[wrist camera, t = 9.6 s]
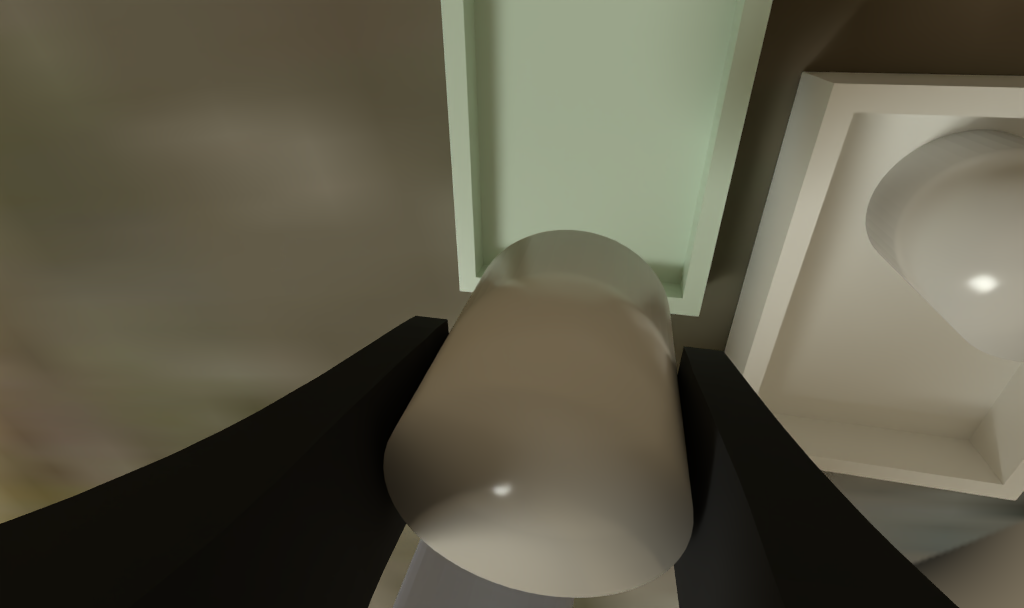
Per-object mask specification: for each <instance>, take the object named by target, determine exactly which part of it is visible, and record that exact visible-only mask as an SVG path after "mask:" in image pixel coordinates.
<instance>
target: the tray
mask: <svg viewBox="0 0 1024 608" xmlns="http://www.w3.org/2000/svg"><path fill="white" fill-rule="evenodd" d="M772 2H773V0H441V10H442V25H443V41H444V56H445V71H446V86H447V101H448V117H449V132H450V147H451V162H452V177H453V193H454V208H455V223H456V238H457V253H458V268H459V284H460V291H466V292H473V291H474V289H475V288H476V286H477V284H478V282H479V281H480V279H481V277H482V275H483V274H484V272H485V270H486V269H487V267H488V266H489V265H490V263H491V262H492V261H493V260H494V259H495V258H496V257H497V256H498V255H499V254H500V253H501V252H502V251H503V250H505V249H506V248H507V247H509V246H510V245H512V244H513V243H515V242H517V241H519V240H521V239H523V238H526V237H528V236H531V235H533V234H537V233H541V232H546V231H553V230H579V231H586V232H591V233H595V234H599V235H602V236H605V237H607V238H610V239H612V240H615V241H617V242H619V243H620V244H622V245H624V246H626V247H628V248H629V249H630V250H632V251H633V252H635V253H636V254H637V255H639V256H640V257H641V258H642V259H643V260H644V261H645V262H646V263H647V264H648V265H649V266H650V267H651V269H652V270H653V271H654V273H655V274H656V275H657V277H658V278H659V280H660V282H661V284H662V285H663V288H664V290H665V293H666V295H667V298H668V303H669V308H670V314H679V315H689V316H698V317H699V314H700V309H701V305H702V301H703V296H704V292H705V288H706V284H707V279H708V275H709V271H710V267H711V262H712V258H713V254H714V249H715V245H716V241H717V237H718V232H719V228H720V224H721V219H722V215H723V211H724V207H725V202H726V198H727V194H728V190H729V185H730V181H731V177H732V172H733V168H734V164H735V160H736V155H737V151H738V147H739V143H740V138H741V134H742V130H743V125H744V121H745V117H746V113H747V108H748V104H749V100H750V96H751V91H752V87H753V83H754V78H755V74H756V70H757V66H758V61H759V57H760V53H761V49H762V44H763V40H764V36H765V31H766V27H767V23H768V19H769V14H770V10H771V6H772Z"/></svg>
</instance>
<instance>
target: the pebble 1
mask: <svg viewBox="0 0 1024 608" xmlns="http://www.w3.org/2000/svg"><path fill="white" fill-rule="evenodd" d="M383 469H384V478H385V483H386V486H387V489H388V493H389V495H390V497H391V499H392V502H393V504H394V506H395V507H396V509H397V510H398V512H399V514H400V515H401V517H402V518H403V519H404V521H405V522H406V523H407V524H408V526H409V527H410V528H411V529H412V530H413V531H414V532H415V533H416V534H417V535H418V536H419V537H420V538H421V539H422V540H423V541H424V542H425V543H426V544H427V545H429V546H430V547H431V548H432V549H433V550H435V551H436V552H437V553H439V554H440V555H442V556H443V557H445V558H446V559H447V560H449V561H451V562H452V563H454V564H456V565H458V566H459V567H461V568H463V569H465V570H467V571H469V572H471V573H473V574H475V575H477V576H479V577H482V578H484V579H486V580H489V581H491V582H494V583H497V584H500V585H503V586H506V587H509V588H512V589H516V590H520V591H524V592H529V593H534V594H540V595H546V596H555V597H571V598H584V597H599V596H606V595H613V594H617V593H621V592H625V591H629V590H632V589H635V588H637V587H640V586H643V585H645V584H647V583H649V582H651V581H653V580H655V579H656V578H658V577H659V576H661V575H662V574H664V573H665V572H666V571H668V570H669V569H670V568H671V567H672V566H673V565H674V564H675V563H676V562H677V561H678V560H679V558H680V557H681V555H682V554H683V553H684V551H685V550H686V547H687V545H688V543H689V540H690V538H691V534H692V529H693V523H694V522H693V504H692V495H691V487H690V478H689V469H688V461H687V452H686V444H685V435H684V426H683V418H682V409H681V401H680V392H679V384H678V375H677V366H676V358H675V349H674V341H673V332H672V323H671V315H670V308H669V303H668V298H667V295H666V293H665V290H664V288H663V285H662V284H661V282H660V280H659V278H658V277H657V275H656V274H655V273H654V271H653V270H652V269H651V267H650V266H649V265H648V264H647V263H646V262H645V261H644V260H643V259H642V258H641V257H640V256H639V255H637V254H636V253H635V252H633V251H632V250H630V249H629V248H628V247H626V246H624V245H622V244H620V243H619V242H617V241H615V240H612V239H610V238H607V237H605V236H602V235H599V234H595V233H591V232H586V231H579V230H553V231H546V232H541V233H537V234H533V235H531V236H528V237H526V238H523V239H521V240H519V241H517V242H515V243H513V244H512V245H510V246H509V247H507V248H506V249H505V250H503V251H502V252H501V253H500V254H499V255H498V256H497V257H496V258H495V259H494V260H493V261H492V262H491V263H490V265H489V266H488V267H487V269H486V270H485V272H484V274H483V275H482V277H481V279H480V281H479V282H478V284H477V286H476V288H475V289H474V291H473V293H472V295H471V296H470V298H469V300H468V302H467V303H466V305H465V307H464V309H463V310H462V312H461V314H460V316H459V317H458V319H457V321H456V323H455V324H454V326H453V328H452V330H451V331H450V333H449V335H448V336H447V338H446V340H445V342H444V343H443V345H442V347H441V349H440V350H439V352H438V354H437V356H436V357H435V359H434V361H433V363H432V364H431V366H430V368H429V370H428V371H427V373H426V375H425V377H424V378H423V380H422V382H421V384H420V385H419V387H418V389H417V391H416V392H415V394H414V396H413V397H412V399H411V401H410V403H409V404H408V406H407V408H406V410H405V411H404V413H403V415H402V417H401V418H400V420H399V422H398V424H397V425H396V427H395V429H394V431H393V433H392V435H391V437H390V438H389V440H388V442H387V446H386V450H385V453H384V464H383Z"/></svg>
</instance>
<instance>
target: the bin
mask: <svg viewBox="0 0 1024 608" xmlns="http://www.w3.org/2000/svg"><path fill="white" fill-rule="evenodd" d="M977 129H990V130H998V131H1003V132H1007V133H1011V134H1014V135H1017V136H1020V137H1023V138H1024V76H1004V75H952V74H901V73H849V72H802V74H801V78H800V82H799V85H798V89H797V92H796V96H795V100H794V103H793V107H792V110H791V114H790V118H789V121H788V125H787V128H786V132H785V135H784V139H783V143H782V146H781V150H780V153H779V157H778V161H777V164H776V168H775V171H774V175H773V179H772V182H771V186H770V189H769V193H768V197H767V200H766V204H765V207H764V211H763V214H762V218H761V222H760V225H759V229H758V232H757V236H756V240H755V243H754V247H753V250H752V254H751V258H750V261H749V265H748V268H747V272H746V276H745V279H744V283H743V286H742V290H741V293H740V297H739V301H738V304H737V308H736V311H735V315H734V319H733V322H732V326H731V329H730V333H729V337H728V340H727V344H726V347H725V351H724V353H725V354H726V355H727V356H728V358H729V359H730V360H731V361H732V363H733V364H734V365H735V366H736V368H737V369H738V370H739V372H740V373H741V374H742V375H743V377H744V378H745V379H746V381H747V382H748V383H749V384H750V386H751V387H752V388H753V390H754V391H755V392H756V393H757V395H758V396H759V397H760V398H761V400H762V401H763V402H764V404H765V405H766V406H767V407H768V409H769V410H770V411H771V412H772V414H773V415H774V416H775V417H776V419H777V420H778V421H779V422H780V423H781V425H782V426H783V427H784V428H785V429H786V431H787V432H788V433H789V434H790V435H791V437H792V438H793V439H794V440H795V441H796V442H797V444H798V445H799V446H800V447H801V448H802V449H803V451H804V452H805V453H806V454H807V455H808V457H809V458H810V459H811V460H812V461H813V462H814V463H815V465H816V466H817V467H818V468H819V469H820V470H823V471H829V472H835V473H842V474H848V475H855V476H861V477H867V478H874V479H880V480H887V481H893V482H899V483H906V484H912V485H919V486H925V487H931V488H938V489H944V490H951V491H957V492H964V493H970V494H976V495H983V496H989V497H996V498H1002V499H1008V500H1015V501H1016V499H1017V498H1018V497H1019V496H1020V495H1021V493H1022V492H1023V491H1024V362H1016V361H1011V360H1006V359H1001V358H998V357H995V356H991V355H989V354H987V353H984V352H982V351H980V350H978V349H977V348H975V347H974V346H972V345H970V344H969V343H968V342H967V341H966V340H965V339H964V338H963V337H962V336H961V335H960V334H959V333H958V332H957V331H956V330H955V329H954V328H953V327H952V326H951V325H950V324H949V323H948V322H947V321H946V320H945V319H944V318H943V317H942V316H941V315H940V314H939V313H938V312H937V311H936V310H935V309H934V308H933V307H932V306H931V305H930V304H929V303H928V302H927V301H926V300H925V299H924V298H923V297H922V296H921V295H920V294H919V293H918V292H917V291H916V290H915V289H914V288H913V287H912V286H911V285H910V284H909V283H908V282H907V281H906V280H905V279H904V278H903V277H902V276H901V275H900V274H899V273H898V272H897V271H896V270H895V269H894V268H893V267H892V266H891V265H890V264H889V263H888V262H887V261H886V260H885V259H884V258H883V257H882V256H881V255H880V254H879V253H878V252H877V251H876V250H875V249H874V247H873V246H872V244H871V242H870V241H869V238H868V235H867V232H866V225H865V222H866V212H867V207H868V204H869V201H870V198H871V196H872V194H873V192H874V190H875V188H876V187H877V185H878V184H879V182H880V181H881V180H882V178H883V177H884V176H885V175H886V174H887V172H888V171H889V170H890V169H891V168H892V167H893V166H894V165H895V164H897V163H898V162H899V161H900V160H901V159H903V158H904V157H905V156H906V155H908V154H909V153H911V152H913V151H914V150H916V149H917V148H919V147H921V146H923V145H925V144H926V143H928V142H931V141H933V140H935V139H938V138H940V137H943V136H946V135H950V134H953V133H957V132H962V131H968V130H977Z"/></svg>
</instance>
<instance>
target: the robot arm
mask: <svg viewBox="0 0 1024 608" xmlns="http://www.w3.org/2000/svg"><path fill="white" fill-rule="evenodd" d="M448 335H449V332H448V320H447V319H439V318H430V317H421V316H415V317H413V318H411V319H409V320H407V321H406V322H404V323H402V324H401V325H399V326H397V327H396V328H394V329H393V330H391V331H389V332H388V333H386V334H385V335H383V336H382V337H380V338H379V339H377V340H376V341H374V342H372V343H371V344H369V345H368V346H366V347H365V348H363V349H362V350H360V351H358V352H357V353H355V354H354V355H352V356H351V357H349V358H347V359H346V360H344V361H343V362H341V363H339V364H338V365H336V366H335V367H333V368H332V369H330V370H328V371H327V372H325V373H324V374H322V375H320V376H319V377H317V378H315V379H314V380H312V381H310V382H308V383H307V384H305V385H303V386H302V387H300V388H298V389H296V390H295V391H293V392H291V393H289V394H288V395H286V396H284V397H283V398H281V399H279V400H277V401H276V402H274V403H272V404H270V405H269V406H267V407H265V408H264V409H262V410H260V411H258V412H256V413H254V414H253V415H251V416H249V417H247V418H245V419H243V420H241V421H239V422H237V423H236V424H234V425H232V426H230V427H228V428H226V429H224V430H222V431H220V432H218V433H216V434H214V435H212V436H210V437H208V438H205V439H203V440H201V441H199V442H197V443H195V444H193V445H191V446H189V447H187V448H185V449H183V450H181V451H178V452H176V453H174V454H172V455H170V456H168V457H165V458H163V459H161V460H158V461H156V462H154V463H151V464H149V465H147V466H144V467H142V468H139V469H137V470H135V471H132V472H130V473H128V474H125V475H123V476H121V477H118V478H116V479H113V480H111V481H109V482H106V483H104V484H102V485H99V486H97V487H95V488H92V489H90V490H87V491H85V492H83V493H80V494H78V495H75V496H73V497H70V498H68V499H65V500H63V501H60V502H58V503H55V504H52V505H50V506H47V507H44V508H42V509H39V510H36V511H34V512H31V513H28V514H26V515H23V516H20V517H18V518H15V519H12V520H10V521H7V522H4V523H1V524H0V608H368V606H369V603H370V601H371V598H372V596H373V594H374V591H375V589H376V587H377V584H378V582H379V580H380V578H381V575H382V573H383V571H384V569H385V566H386V564H387V562H388V560H389V558H390V556H391V554H392V552H393V550H394V548H395V546H396V544H397V542H398V539H399V537H400V535H401V533H402V531H403V529H404V527H405V525H406V522H405V521H404V519H403V518H402V517H401V515H400V514H399V512H398V510H397V509H396V507H395V506H394V504H393V502H392V499H391V497H390V495H389V493H388V489H387V486H386V483H385V478H384V469H383V464H384V453H385V450H386V446H387V442H388V440H389V438H390V437H391V435H392V433H393V431H394V429H395V427H396V425H397V424H398V422H399V420H400V418H401V417H402V415H403V413H404V411H405V410H406V408H407V406H408V404H409V403H410V401H411V399H412V397H413V396H414V394H415V392H416V391H417V389H418V387H419V385H420V384H421V382H422V380H423V378H424V377H425V375H426V373H427V371H428V370H429V368H430V366H431V364H432V363H433V361H434V359H435V357H436V356H437V354H438V352H439V350H440V349H441V347H442V345H443V343H444V342H445V340H446V338H447V336H448ZM678 384H679V392H680V401H681V409H682V418H683V426H684V435H685V444H686V452H687V461H688V469H689V478H690V487H691V495H692V504H693V522H694V523H693V529H692V534H691V538H690V540H689V543H688V545H687V547H686V550H685V551H684V553H683V554H682V555H681V557H680V558H679V560H678V561H677V562H676V563H675V564H674V569H675V577H676V585H677V593H678V601H679V608H959V607H958V606H956V605H955V604H954V603H953V602H952V601H951V600H950V599H949V598H948V597H947V596H946V595H945V594H943V592H941V591H940V590H939V589H938V588H937V587H936V586H935V585H934V584H933V583H932V582H931V581H930V580H929V579H928V578H927V577H926V576H925V575H923V574H922V573H921V572H920V571H919V570H918V569H917V568H916V567H915V566H914V565H913V564H912V563H911V562H910V561H909V560H908V559H906V558H905V557H904V556H903V555H902V554H901V553H900V552H899V551H898V550H897V549H896V548H895V547H894V546H893V545H892V544H891V543H890V542H889V541H888V540H887V539H886V538H885V537H884V536H883V535H882V534H881V533H880V532H879V531H878V530H877V529H876V528H875V527H874V526H873V525H872V524H871V523H870V522H869V521H868V520H867V519H866V518H865V517H864V516H863V515H862V514H861V513H860V512H859V511H858V510H857V509H856V508H855V507H854V505H853V504H852V503H851V502H850V501H849V500H848V499H847V498H846V497H845V496H844V495H843V494H842V493H841V492H840V491H839V490H838V489H837V487H836V486H835V485H834V484H833V483H832V482H831V481H830V480H829V479H828V478H827V477H826V476H825V475H824V473H823V472H822V471H821V470H820V469H819V468H818V467H817V466H816V465H815V463H814V462H813V461H812V460H811V459H810V458H809V457H808V455H807V454H806V453H805V452H804V451H803V449H802V448H801V447H800V446H799V445H798V444H797V442H796V441H795V440H794V439H793V438H792V437H791V435H790V434H789V433H788V432H787V431H786V429H785V428H784V427H783V426H782V425H781V423H780V422H779V421H778V420H777V419H776V417H775V416H774V415H773V414H772V412H771V411H770V410H769V409H768V407H767V406H766V405H765V404H764V402H763V401H762V400H761V398H760V397H759V396H758V395H757V393H756V392H755V391H754V390H753V388H752V387H751V386H750V384H749V383H748V382H747V381H746V379H745V378H744V377H743V375H742V374H741V373H740V372H739V370H738V369H737V368H736V366H735V365H734V364H733V363H732V361H731V360H730V359H729V358H728V356H727V355H726V354H725V353H724V351H718V350H709V349H700V348H691V347H684V348H683V353H682V358H681V362H680V367H679V371H678ZM573 602H574V598H571V597H555V596H546V595H540V594H534V593H529V592H524V591H520V590H516V589H512V588H509V587H506V586H503V585H500V584H497V583H494V582H491V581H489V580H486V579H484V578H482V577H479V576H477V575H475V574H473V573H471V572H469V571H467V570H465V569H463V568H461V567H459V566H458V565H456V564H454V563H452V562H451V561H449V560H447V559H446V558H445V557H443V556H442V555H440V554H439V553H437V552H436V551H435V550H433V549H432V548H431V547H430V546H429V545H427V544H426V543H425V542H424V541H423V540H422V539H420V541H419V544H418V546H417V549H416V551H415V554H414V556H413V559H412V561H411V564H410V566H409V568H408V571H407V573H406V576H405V578H404V581H403V583H402V586H401V588H400V591H399V593H398V596H397V598H396V600H395V603H394V605H393V608H573Z"/></svg>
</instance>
